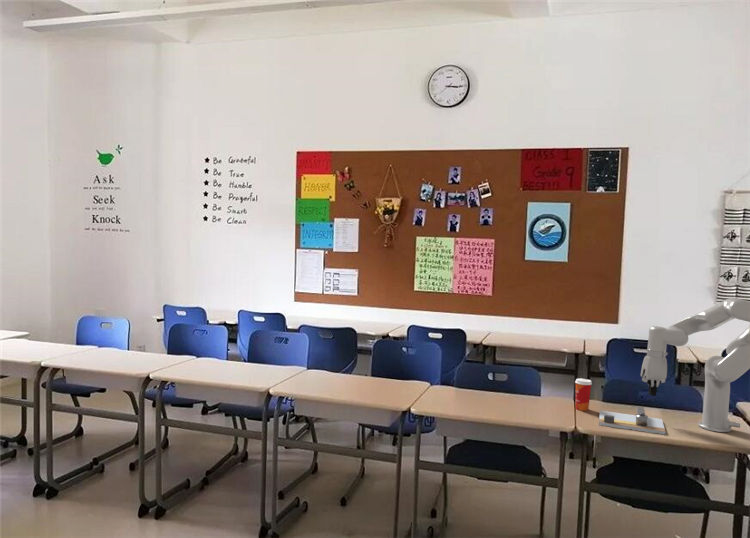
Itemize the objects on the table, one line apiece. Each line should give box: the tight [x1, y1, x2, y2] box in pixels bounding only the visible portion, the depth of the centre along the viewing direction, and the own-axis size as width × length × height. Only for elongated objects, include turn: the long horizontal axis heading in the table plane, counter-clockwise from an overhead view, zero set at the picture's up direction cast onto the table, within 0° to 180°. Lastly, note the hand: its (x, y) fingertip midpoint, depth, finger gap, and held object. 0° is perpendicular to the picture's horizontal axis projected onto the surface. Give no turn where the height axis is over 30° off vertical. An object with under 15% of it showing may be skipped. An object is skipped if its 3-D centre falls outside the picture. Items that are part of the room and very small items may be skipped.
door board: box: [598, 410, 666, 436], centre depth 260 cm, size 26×20×4 cm
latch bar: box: [636, 405, 649, 426], centre depth 260 cm, size 18×5×5 cm, turn 158°
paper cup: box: [574, 378, 593, 412], centre depth 279 cm, size 8×8×14 cm
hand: (652, 394), depth 264 cm, fingers closed
